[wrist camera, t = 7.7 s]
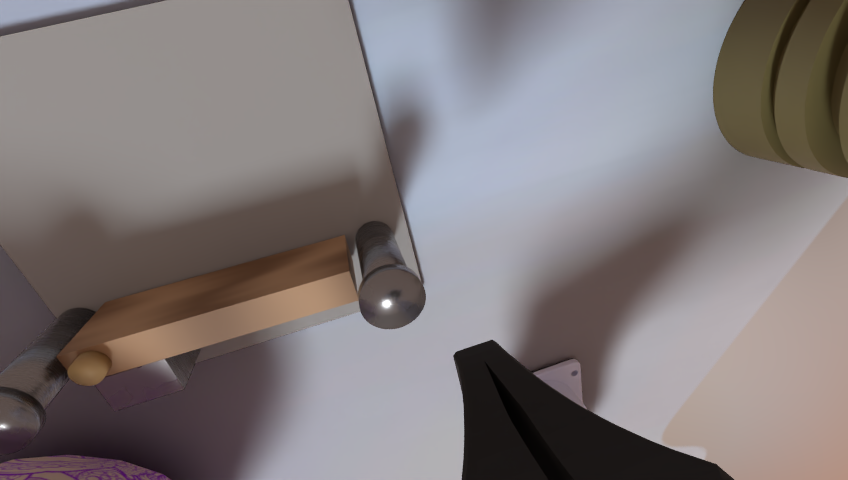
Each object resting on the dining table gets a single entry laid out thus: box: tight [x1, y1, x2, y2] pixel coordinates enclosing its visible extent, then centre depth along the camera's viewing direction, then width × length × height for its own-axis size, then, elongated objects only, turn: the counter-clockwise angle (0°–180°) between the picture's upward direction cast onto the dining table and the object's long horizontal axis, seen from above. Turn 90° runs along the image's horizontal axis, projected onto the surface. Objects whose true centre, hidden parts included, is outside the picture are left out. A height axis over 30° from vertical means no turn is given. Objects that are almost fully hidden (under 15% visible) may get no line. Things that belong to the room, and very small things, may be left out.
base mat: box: [0, 0, 421, 363], centre depth 19 cm, size 16×17×1 cm
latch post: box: [0, 308, 201, 455], centre depth 18 cm, size 4×6×7 cm
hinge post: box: [355, 221, 426, 329], centre depth 19 cm, size 3×3×7 cm
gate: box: [56, 235, 358, 386], centre depth 18 cm, size 12×2×5 cm, turn 102°
